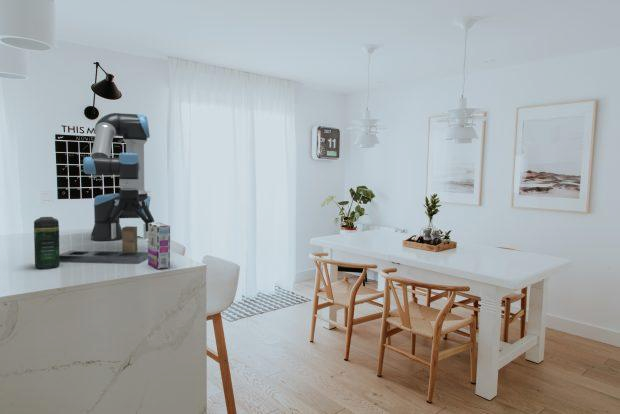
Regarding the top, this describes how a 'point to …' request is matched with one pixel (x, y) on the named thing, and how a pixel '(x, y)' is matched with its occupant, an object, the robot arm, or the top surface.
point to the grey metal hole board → (103, 257)
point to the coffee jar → (46, 242)
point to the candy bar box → (159, 245)
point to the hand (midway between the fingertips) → (129, 238)
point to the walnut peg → (129, 239)
